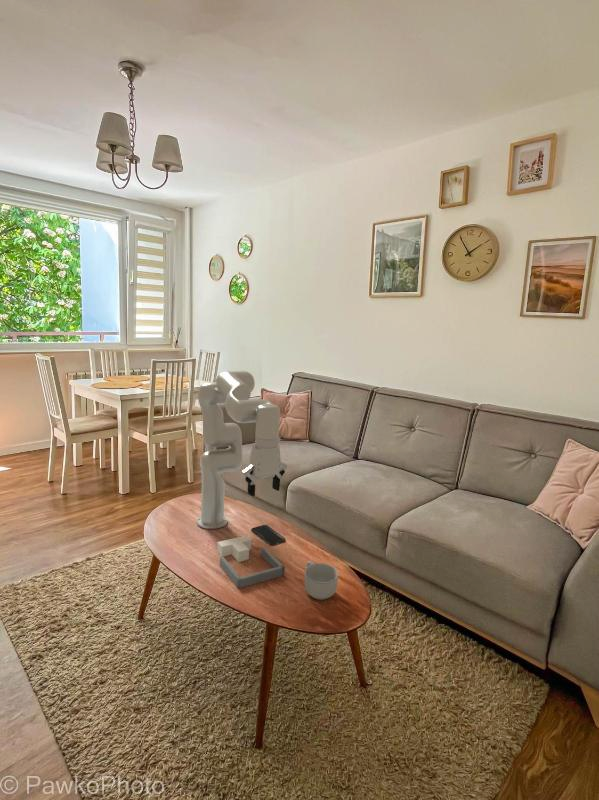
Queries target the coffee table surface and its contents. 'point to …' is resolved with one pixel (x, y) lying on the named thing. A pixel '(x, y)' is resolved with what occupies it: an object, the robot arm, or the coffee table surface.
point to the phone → (268, 534)
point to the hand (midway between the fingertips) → (263, 492)
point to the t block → (235, 548)
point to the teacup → (320, 580)
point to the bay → (256, 577)
